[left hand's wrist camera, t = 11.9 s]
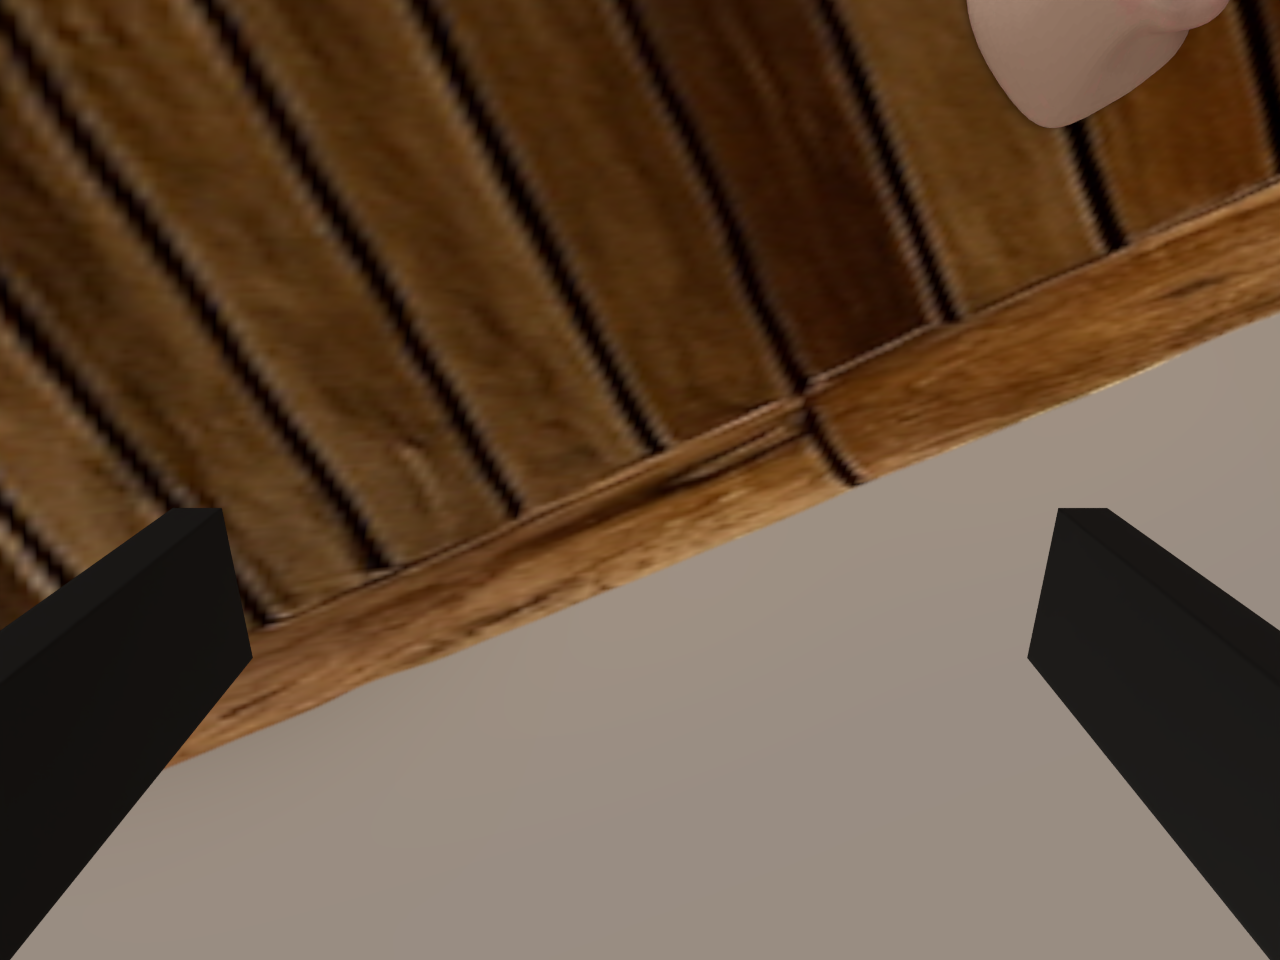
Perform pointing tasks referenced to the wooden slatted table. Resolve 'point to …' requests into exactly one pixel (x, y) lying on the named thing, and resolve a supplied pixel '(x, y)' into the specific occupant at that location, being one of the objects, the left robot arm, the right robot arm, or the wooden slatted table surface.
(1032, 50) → the anatomical model
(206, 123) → the wooden slatted table surface
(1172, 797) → the left robot arm
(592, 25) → the wooden slatted table surface
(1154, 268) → the wooden slatted table surface
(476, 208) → the wooden slatted table surface
